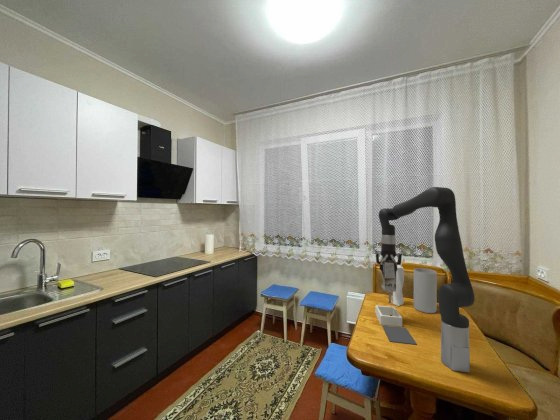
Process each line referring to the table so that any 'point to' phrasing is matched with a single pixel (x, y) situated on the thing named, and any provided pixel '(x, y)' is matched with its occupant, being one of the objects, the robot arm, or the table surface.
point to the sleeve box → (388, 320)
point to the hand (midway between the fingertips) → (388, 271)
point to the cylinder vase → (425, 290)
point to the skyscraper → (398, 287)
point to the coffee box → (388, 276)
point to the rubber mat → (399, 335)
